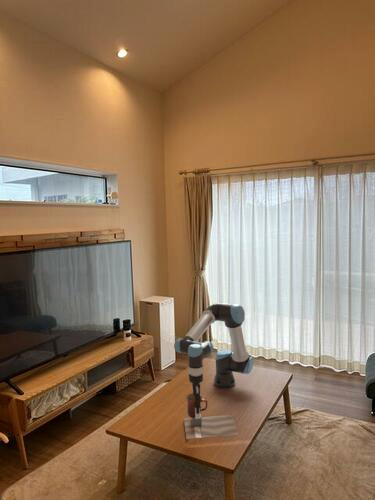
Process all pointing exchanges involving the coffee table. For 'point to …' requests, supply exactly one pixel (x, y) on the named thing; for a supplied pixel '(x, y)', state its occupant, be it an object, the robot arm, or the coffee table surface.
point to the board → (210, 427)
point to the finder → (196, 421)
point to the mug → (191, 404)
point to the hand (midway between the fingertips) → (197, 414)
